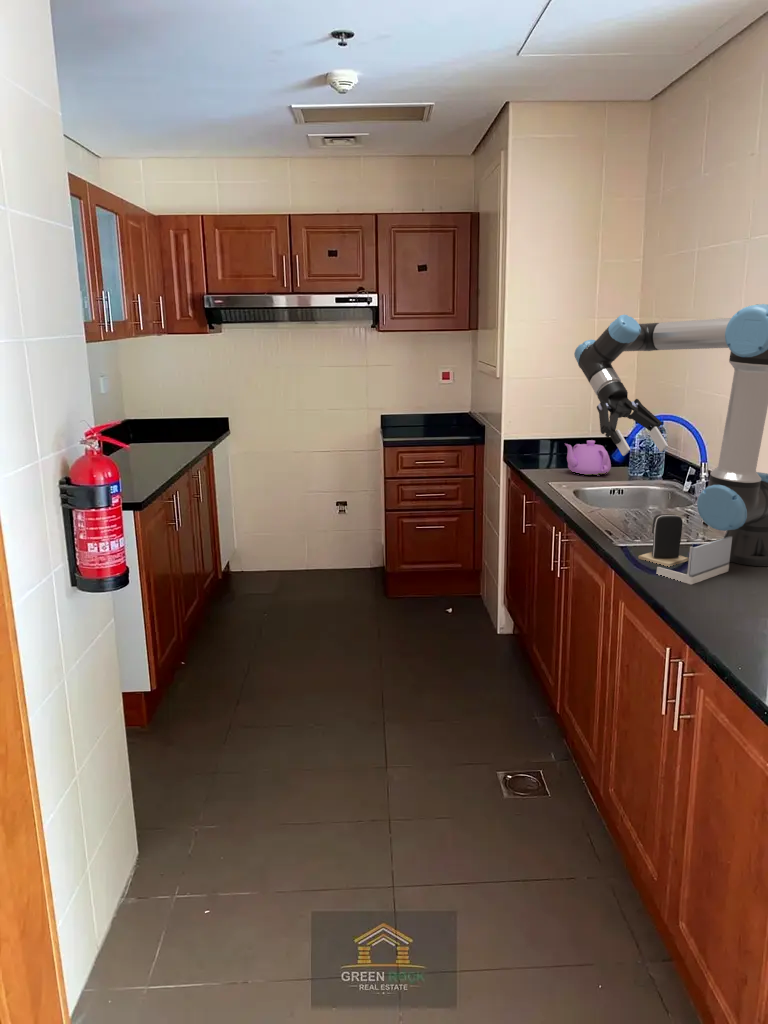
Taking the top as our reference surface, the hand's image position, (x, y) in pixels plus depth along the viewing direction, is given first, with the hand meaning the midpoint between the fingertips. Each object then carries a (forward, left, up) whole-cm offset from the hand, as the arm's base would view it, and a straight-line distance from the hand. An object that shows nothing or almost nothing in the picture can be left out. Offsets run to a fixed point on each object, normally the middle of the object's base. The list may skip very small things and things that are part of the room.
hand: (645, 450), depth 203 cm
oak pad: (+1, +9, -28) cm, 29 cm away
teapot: (-78, -79, -28) cm, 115 cm away
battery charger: (+1, +9, -27) cm, 28 cm away
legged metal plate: (+5, +19, -28) cm, 34 cm away
